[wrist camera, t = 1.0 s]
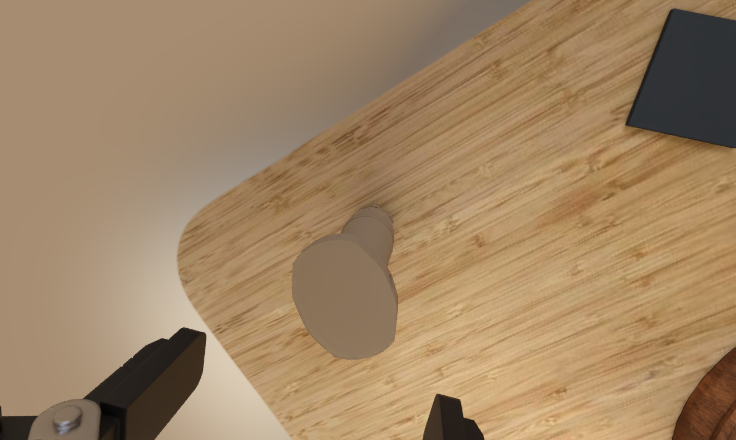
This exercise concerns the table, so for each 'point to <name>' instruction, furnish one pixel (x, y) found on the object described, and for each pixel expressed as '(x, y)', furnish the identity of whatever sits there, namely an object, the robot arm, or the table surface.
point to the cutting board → (711, 405)
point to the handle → (349, 287)
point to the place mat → (691, 81)
